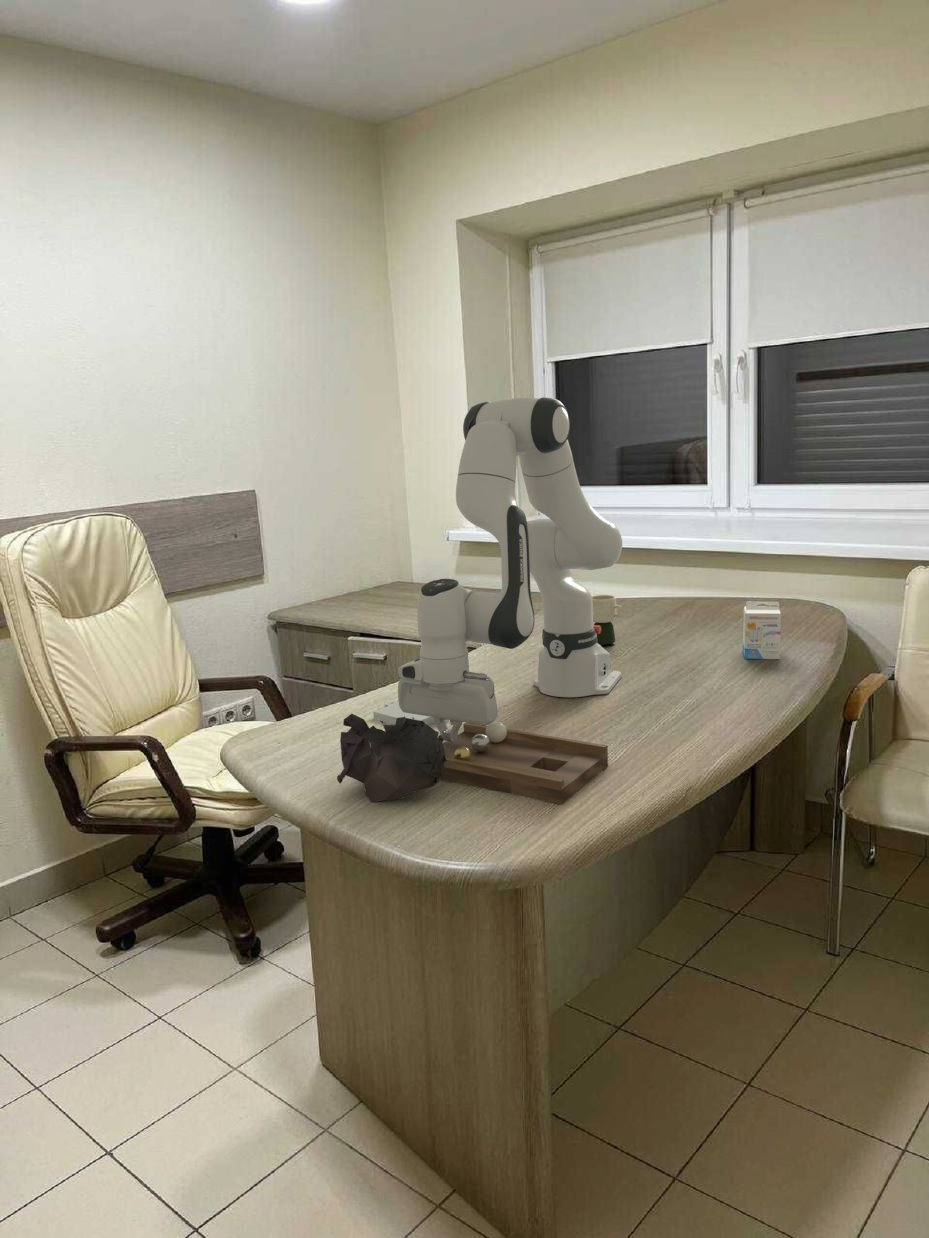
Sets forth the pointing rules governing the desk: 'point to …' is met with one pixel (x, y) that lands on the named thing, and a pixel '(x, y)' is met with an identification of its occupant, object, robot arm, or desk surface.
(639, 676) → the desk surface
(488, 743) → the steel ball
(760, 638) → the ink box
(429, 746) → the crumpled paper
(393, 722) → the mounting plate
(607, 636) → the character mug
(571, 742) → the board
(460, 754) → the brass ball
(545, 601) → the robot arm
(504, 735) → the cream ball
